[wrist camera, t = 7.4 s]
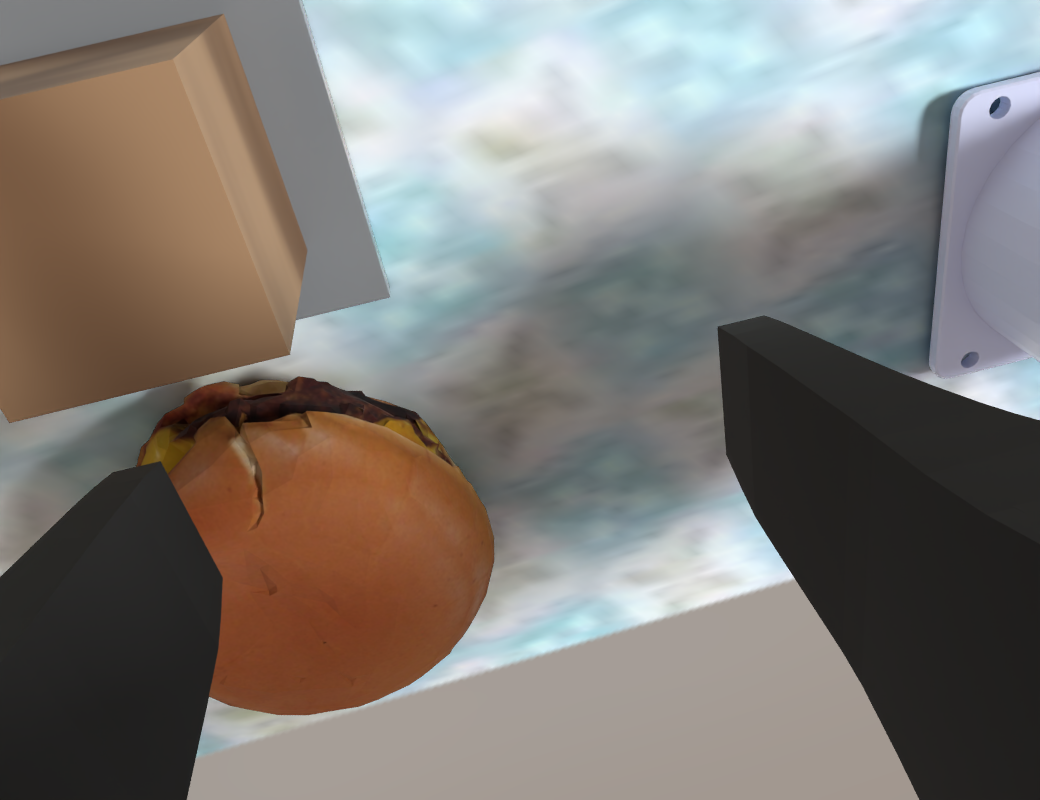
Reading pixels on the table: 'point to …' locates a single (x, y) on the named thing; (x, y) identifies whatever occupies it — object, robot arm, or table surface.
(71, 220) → the walnut cube
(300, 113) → the slate coaster
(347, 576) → the burger
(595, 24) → the table surface
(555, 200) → the table surface
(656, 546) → the table surface
